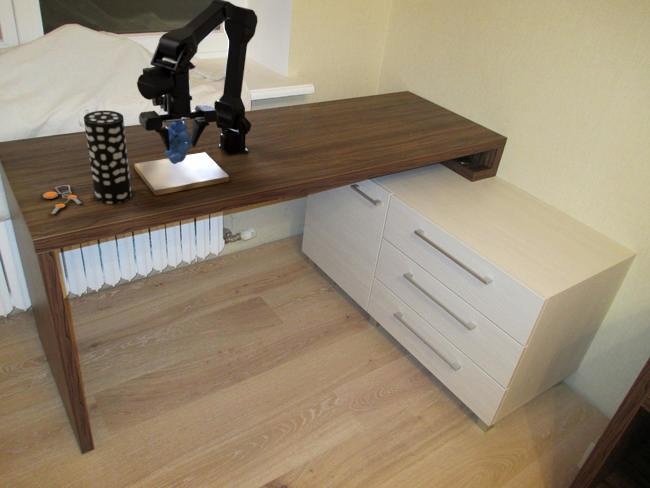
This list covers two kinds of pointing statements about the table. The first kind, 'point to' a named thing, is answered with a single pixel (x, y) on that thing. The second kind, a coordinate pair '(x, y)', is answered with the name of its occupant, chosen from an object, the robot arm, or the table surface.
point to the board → (180, 173)
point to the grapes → (178, 141)
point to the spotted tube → (108, 156)
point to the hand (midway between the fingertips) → (181, 148)
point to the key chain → (54, 194)
